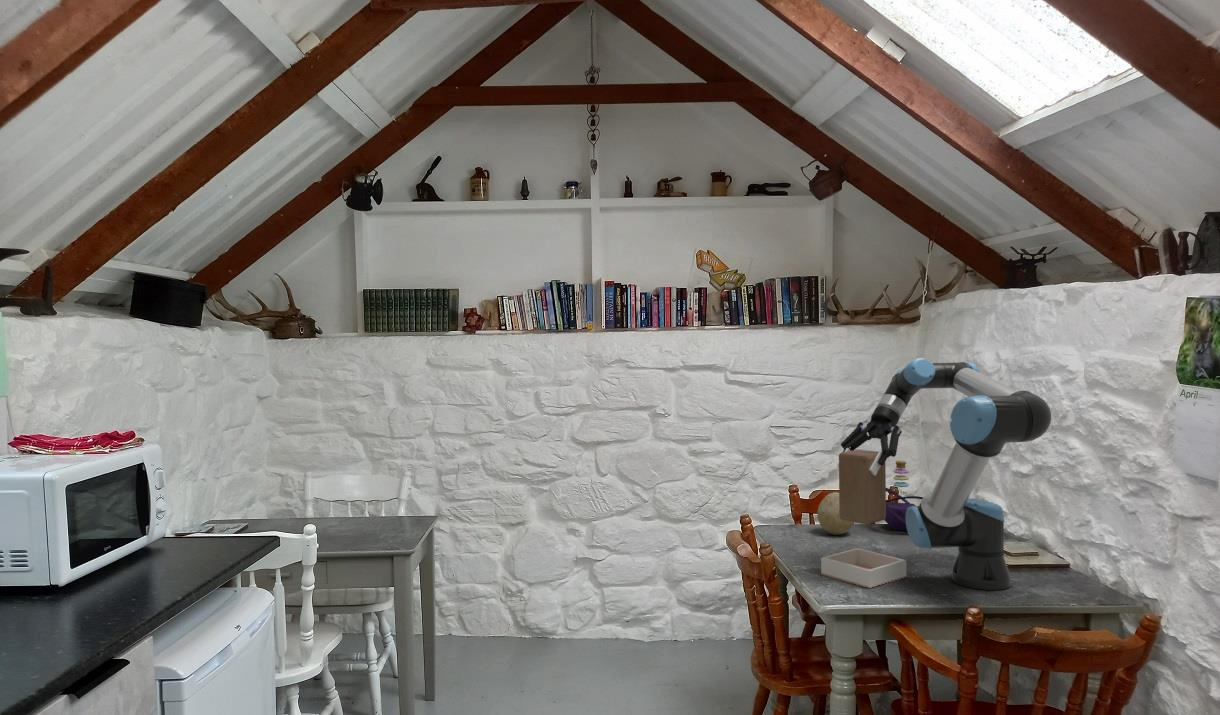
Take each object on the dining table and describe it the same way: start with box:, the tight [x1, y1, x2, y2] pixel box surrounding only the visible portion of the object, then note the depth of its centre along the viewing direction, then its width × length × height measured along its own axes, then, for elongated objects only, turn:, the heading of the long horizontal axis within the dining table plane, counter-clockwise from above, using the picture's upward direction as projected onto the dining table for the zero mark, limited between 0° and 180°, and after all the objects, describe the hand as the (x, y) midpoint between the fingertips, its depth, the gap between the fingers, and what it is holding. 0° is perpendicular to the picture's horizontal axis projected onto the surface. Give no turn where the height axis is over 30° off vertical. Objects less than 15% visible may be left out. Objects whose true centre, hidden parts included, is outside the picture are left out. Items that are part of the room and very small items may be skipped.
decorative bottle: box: [884, 459, 924, 532], centre depth 280 cm, size 22×21×25 cm
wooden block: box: [838, 449, 887, 525], centre depth 226 cm, size 10×10×20 cm
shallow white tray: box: [820, 547, 907, 589], centre depth 226 cm, size 17×17×5 cm
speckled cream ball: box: [817, 491, 855, 536], centre depth 275 cm, size 13×13×15 cm
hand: (855, 470), depth 224 cm, fingers closed on wooden block, 10 cm apart
